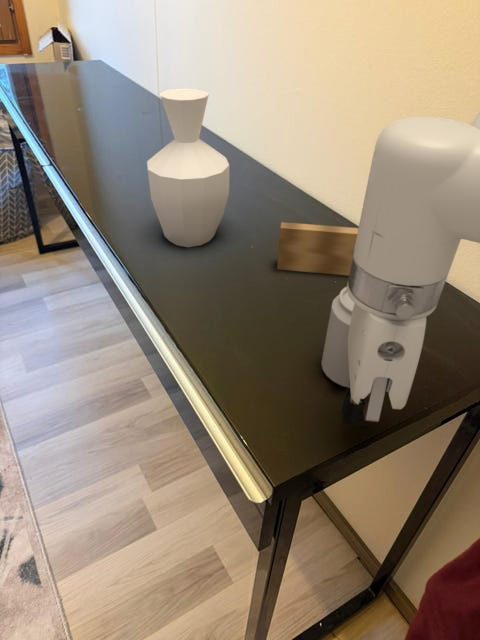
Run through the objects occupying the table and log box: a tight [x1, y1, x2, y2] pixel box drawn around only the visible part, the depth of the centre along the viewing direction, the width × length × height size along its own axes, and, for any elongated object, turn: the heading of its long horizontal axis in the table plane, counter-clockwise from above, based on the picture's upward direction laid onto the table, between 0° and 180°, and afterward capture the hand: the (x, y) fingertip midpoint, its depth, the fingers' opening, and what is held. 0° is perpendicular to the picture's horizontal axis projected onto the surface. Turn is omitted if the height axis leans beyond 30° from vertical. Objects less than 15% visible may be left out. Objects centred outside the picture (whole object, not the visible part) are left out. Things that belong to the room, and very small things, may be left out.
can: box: [320, 286, 354, 388], centre depth 56 cm, size 8×8×12 cm
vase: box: [146, 87, 230, 248], centre depth 79 cm, size 14×14×25 cm
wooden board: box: [276, 221, 359, 277], centre depth 76 cm, size 16×2×8 cm, turn 82°
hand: (356, 419), depth 50 cm, fingers closed
